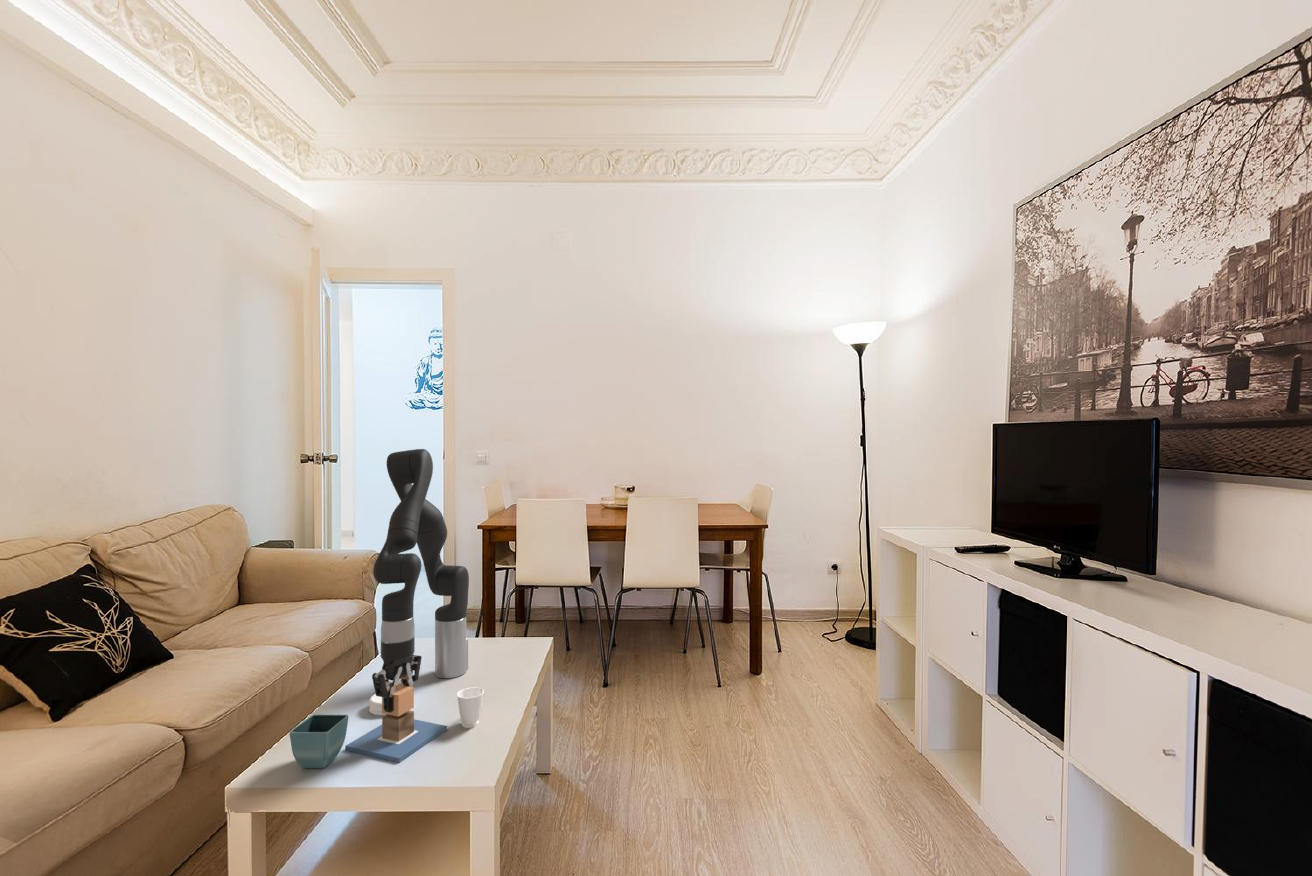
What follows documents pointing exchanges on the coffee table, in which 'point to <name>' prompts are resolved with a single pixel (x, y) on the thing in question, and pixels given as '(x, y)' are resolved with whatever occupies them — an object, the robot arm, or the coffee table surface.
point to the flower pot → (318, 739)
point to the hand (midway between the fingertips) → (397, 706)
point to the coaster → (376, 705)
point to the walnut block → (397, 726)
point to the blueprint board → (396, 742)
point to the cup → (470, 706)
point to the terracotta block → (401, 700)
